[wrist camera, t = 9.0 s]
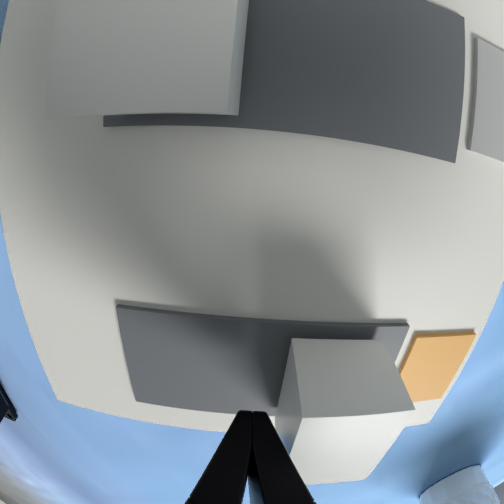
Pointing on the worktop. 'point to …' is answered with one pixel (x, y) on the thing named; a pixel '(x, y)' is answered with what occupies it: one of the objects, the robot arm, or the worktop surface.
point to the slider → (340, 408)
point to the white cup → (461, 489)
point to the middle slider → (145, 57)
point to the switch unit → (263, 210)
